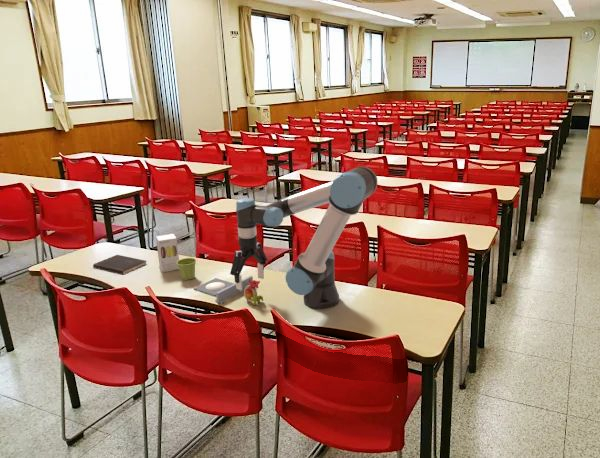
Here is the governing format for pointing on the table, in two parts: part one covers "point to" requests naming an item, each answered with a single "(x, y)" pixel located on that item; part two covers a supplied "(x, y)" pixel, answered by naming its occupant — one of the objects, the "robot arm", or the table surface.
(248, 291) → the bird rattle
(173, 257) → the supplement box
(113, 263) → the hardcover book
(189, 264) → the plant pot
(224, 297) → the long grey bar
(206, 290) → the mat
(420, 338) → the table surface
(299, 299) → the table surface
